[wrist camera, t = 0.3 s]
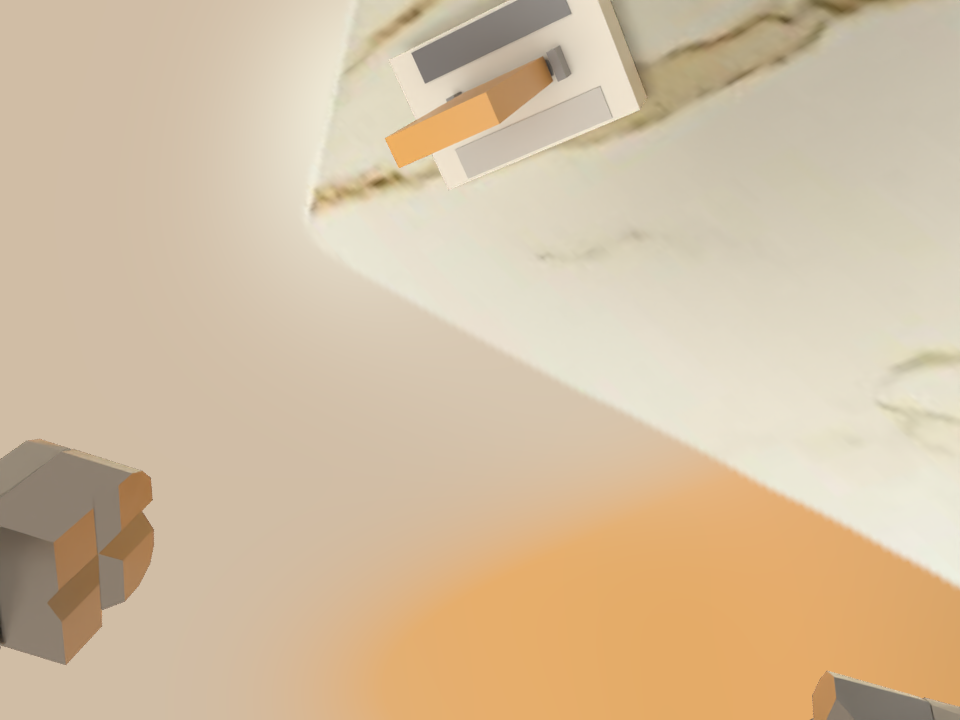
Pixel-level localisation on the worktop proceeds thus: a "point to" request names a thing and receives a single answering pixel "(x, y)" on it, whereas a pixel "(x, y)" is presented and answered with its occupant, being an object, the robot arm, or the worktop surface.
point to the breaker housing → (508, 45)
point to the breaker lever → (470, 112)
